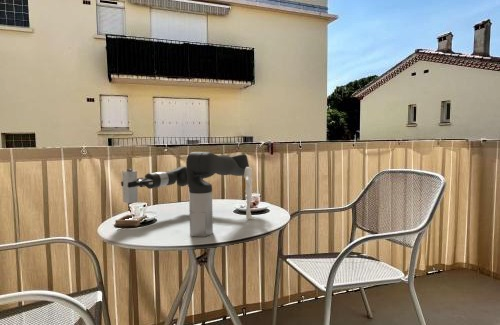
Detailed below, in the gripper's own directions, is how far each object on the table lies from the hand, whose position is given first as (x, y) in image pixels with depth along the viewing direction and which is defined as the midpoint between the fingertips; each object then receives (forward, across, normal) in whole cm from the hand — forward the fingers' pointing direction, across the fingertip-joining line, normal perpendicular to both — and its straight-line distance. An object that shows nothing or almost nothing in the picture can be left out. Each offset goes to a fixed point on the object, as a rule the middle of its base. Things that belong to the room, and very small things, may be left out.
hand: (125, 184), depth 139 cm
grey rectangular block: (-2, 0, -8) cm, 9 cm away
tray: (-2, 0, -18) cm, 18 cm away
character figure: (-39, -40, -18) cm, 59 cm away
